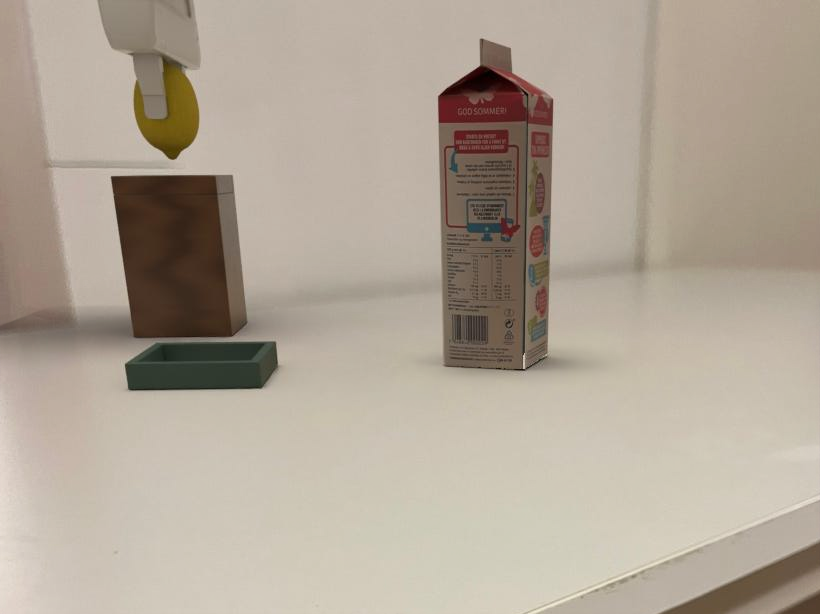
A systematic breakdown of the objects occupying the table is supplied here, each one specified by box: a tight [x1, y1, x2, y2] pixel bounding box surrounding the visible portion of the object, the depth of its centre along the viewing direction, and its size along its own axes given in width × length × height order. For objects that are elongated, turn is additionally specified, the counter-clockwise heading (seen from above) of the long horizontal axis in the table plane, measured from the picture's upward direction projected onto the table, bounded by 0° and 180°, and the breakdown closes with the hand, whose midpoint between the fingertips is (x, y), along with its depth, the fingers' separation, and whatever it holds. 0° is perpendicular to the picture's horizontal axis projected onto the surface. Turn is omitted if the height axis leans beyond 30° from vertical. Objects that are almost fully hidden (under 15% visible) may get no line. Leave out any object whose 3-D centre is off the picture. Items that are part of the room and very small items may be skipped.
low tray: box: [124, 340, 279, 390], centre depth 75 cm, size 9×9×2 cm
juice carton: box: [437, 37, 554, 370], centre depth 76 cm, size 7×7×22 cm
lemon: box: [132, 59, 200, 161], centre depth 89 cm, size 6×6×8 cm
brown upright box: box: [110, 174, 248, 338], centre depth 94 cm, size 9×9×14 cm
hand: (167, 121), depth 90 cm, fingers closed on lemon, 5 cm apart
